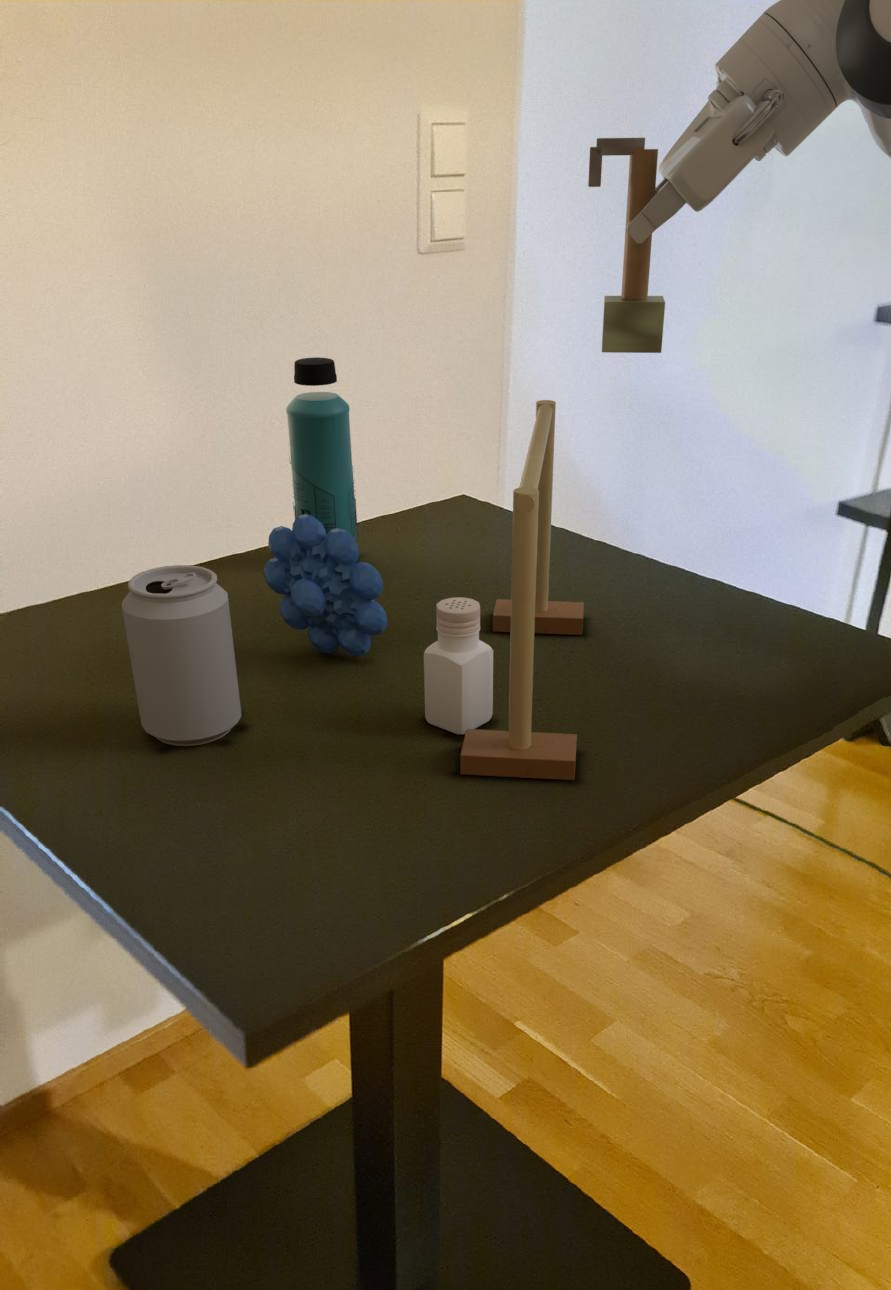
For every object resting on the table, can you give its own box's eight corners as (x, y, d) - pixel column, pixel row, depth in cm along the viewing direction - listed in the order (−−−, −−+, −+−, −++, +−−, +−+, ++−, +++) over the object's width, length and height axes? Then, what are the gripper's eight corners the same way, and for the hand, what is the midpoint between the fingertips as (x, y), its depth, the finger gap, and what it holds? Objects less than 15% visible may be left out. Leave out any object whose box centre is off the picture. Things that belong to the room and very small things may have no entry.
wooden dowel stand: (583, 618, 104) (595, 397, 94) (574, 780, 79) (589, 501, 69) (496, 615, 105) (499, 396, 95) (460, 774, 79) (459, 498, 69)
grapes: (244, 660, 97) (228, 523, 91) (287, 632, 102) (275, 500, 96) (363, 684, 92) (355, 541, 86) (401, 653, 98) (396, 517, 91)
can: (136, 715, 88) (111, 567, 82) (232, 699, 90) (214, 554, 84) (150, 758, 82) (124, 602, 76) (252, 740, 84) (235, 587, 78)
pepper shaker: (462, 739, 84) (461, 619, 79) (422, 724, 86) (419, 606, 81) (495, 720, 87) (497, 603, 82) (455, 705, 89) (455, 590, 84)
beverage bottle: (371, 555, 120) (362, 356, 110) (333, 573, 115) (320, 367, 105) (322, 545, 123) (309, 350, 113) (283, 562, 118) (266, 361, 108)
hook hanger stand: (659, 345, 99) (675, 137, 91) (661, 353, 96) (678, 137, 88) (581, 344, 100) (590, 138, 92) (580, 352, 96) (590, 138, 88)
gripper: (815, 127, 79) (661, 279, 85) (776, 127, 97) (651, 253, 103) (758, 52, 77) (605, 213, 83) (729, 66, 95) (605, 198, 101)
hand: (631, 235), depth 93 cm, fingers closed on hook hanger stand, 2 cm apart
